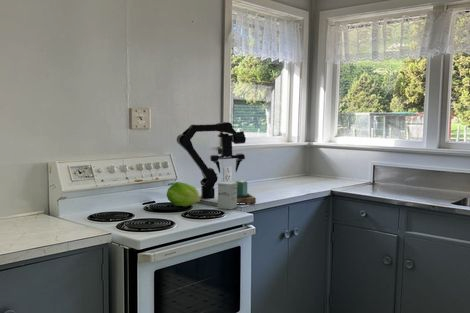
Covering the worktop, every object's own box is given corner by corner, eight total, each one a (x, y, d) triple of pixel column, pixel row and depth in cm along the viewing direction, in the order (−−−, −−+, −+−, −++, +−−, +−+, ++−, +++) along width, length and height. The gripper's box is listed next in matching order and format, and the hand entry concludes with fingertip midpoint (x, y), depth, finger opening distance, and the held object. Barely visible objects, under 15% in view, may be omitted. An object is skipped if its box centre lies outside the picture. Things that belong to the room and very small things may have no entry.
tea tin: (235, 200, 245) (235, 181, 244) (239, 198, 249) (240, 180, 248) (242, 201, 243) (242, 182, 241) (247, 199, 246) (247, 180, 245)
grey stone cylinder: (217, 208, 230) (217, 183, 229) (224, 205, 237) (224, 180, 236) (230, 209, 227) (230, 184, 226) (237, 207, 234) (237, 182, 232)
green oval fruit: (187, 213, 220) (186, 187, 219) (162, 206, 235) (161, 182, 233) (209, 208, 230) (209, 184, 229) (183, 202, 244) (183, 179, 243)
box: (231, 204, 238) (231, 199, 238) (225, 199, 251) (224, 194, 250) (255, 203, 242) (255, 197, 241) (248, 198, 254) (248, 193, 254)
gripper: (240, 142, 268) (241, 169, 270) (208, 144, 265) (209, 171, 267) (244, 144, 257) (245, 172, 259) (210, 146, 254) (211, 174, 256)
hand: (227, 172), depth 261 cm, fingers open, 9 cm apart
